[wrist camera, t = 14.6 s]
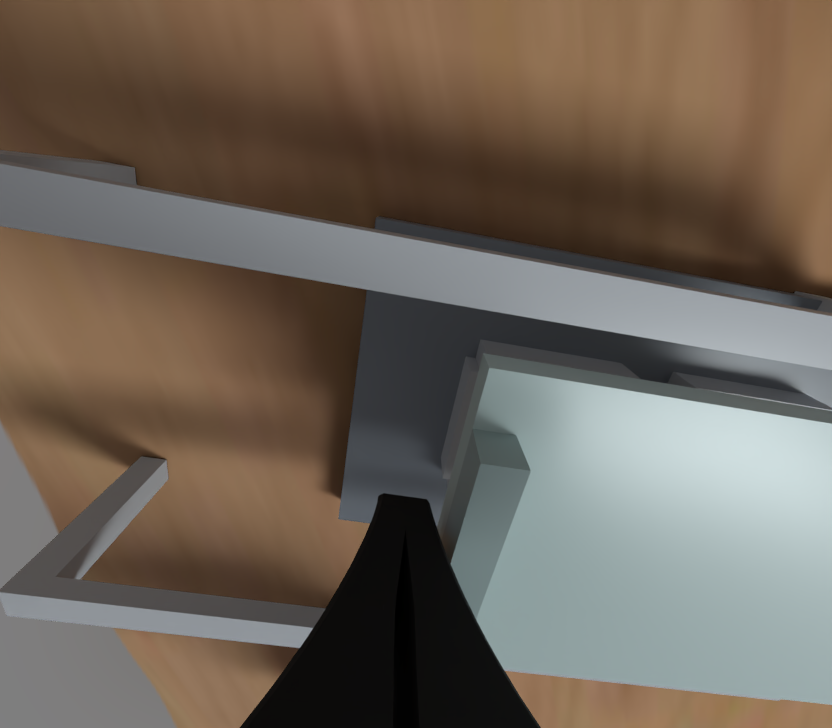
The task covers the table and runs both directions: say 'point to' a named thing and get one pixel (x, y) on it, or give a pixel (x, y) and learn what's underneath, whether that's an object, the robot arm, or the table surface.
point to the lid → (645, 531)
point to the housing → (397, 358)
